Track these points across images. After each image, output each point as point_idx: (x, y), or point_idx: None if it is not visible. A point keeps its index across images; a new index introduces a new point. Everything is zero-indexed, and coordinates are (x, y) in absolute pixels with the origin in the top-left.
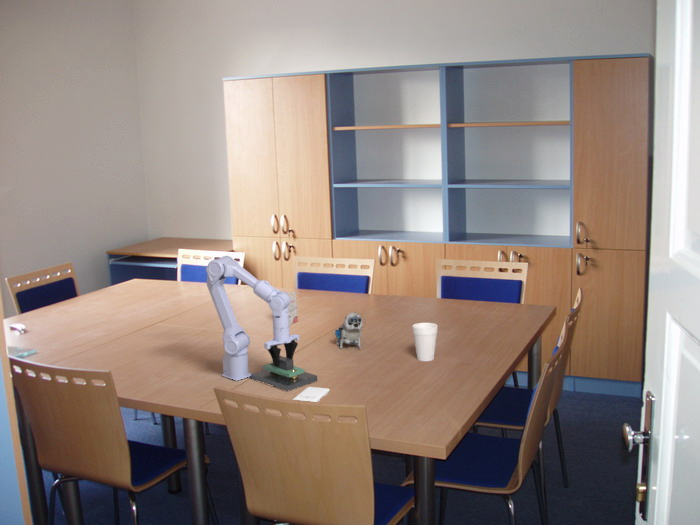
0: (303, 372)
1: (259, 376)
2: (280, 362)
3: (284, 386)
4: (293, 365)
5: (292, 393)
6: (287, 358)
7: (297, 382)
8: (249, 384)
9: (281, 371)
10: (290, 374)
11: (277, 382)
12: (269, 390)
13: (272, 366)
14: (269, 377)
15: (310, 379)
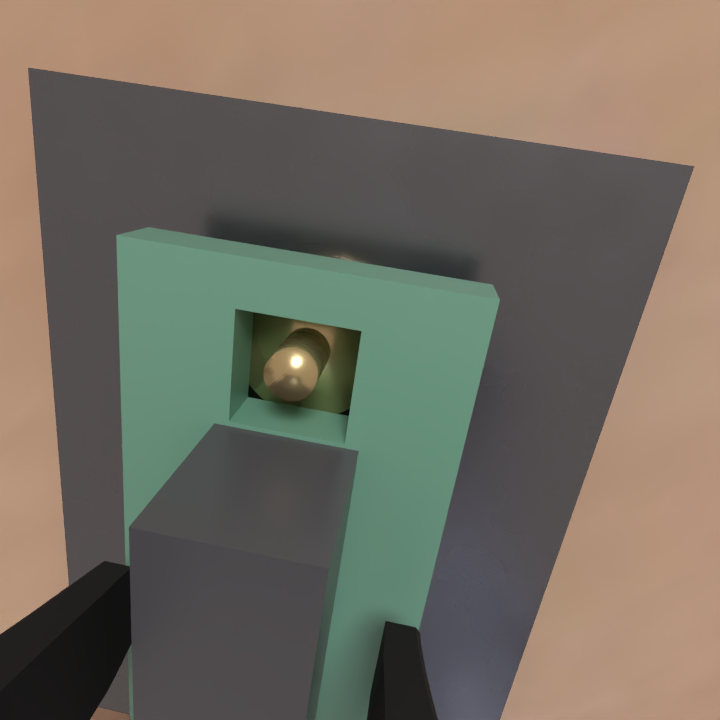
0: (170, 231)
1: (499, 697)
2: (315, 676)
3: (662, 226)
4: (190, 452)
5: (693, 28)
6: (155, 661)
7: (450, 131)
8: (605, 681)
9: (440, 505)
10: (466, 290)
11: (597, 402)
12: (699, 405)
13: (325, 717)
14: (474, 594)
15: (181, 93)
